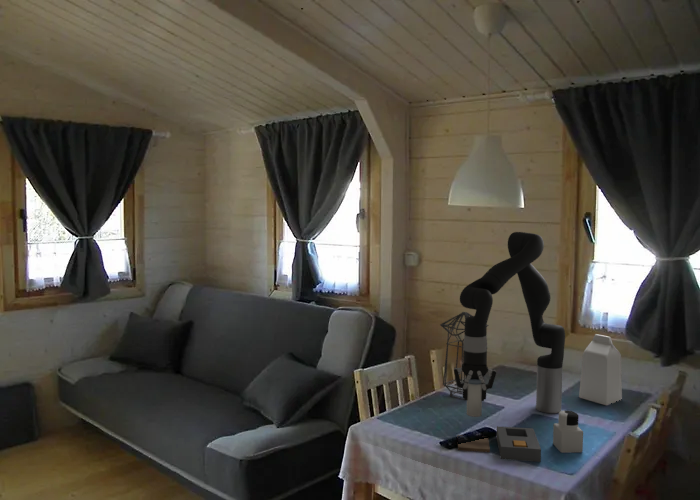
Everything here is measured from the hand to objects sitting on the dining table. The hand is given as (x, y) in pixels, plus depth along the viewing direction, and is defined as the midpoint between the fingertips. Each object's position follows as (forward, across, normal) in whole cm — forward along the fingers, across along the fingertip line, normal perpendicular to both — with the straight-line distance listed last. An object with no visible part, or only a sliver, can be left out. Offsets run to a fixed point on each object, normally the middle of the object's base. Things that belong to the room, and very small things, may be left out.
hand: (474, 399), depth 195 cm
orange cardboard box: (+15, -14, +6) cm, 21 cm away
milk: (+15, -53, -56) cm, 79 cm away
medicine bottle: (+15, -30, -2) cm, 34 cm away
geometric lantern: (+15, +2, -51) cm, 53 cm away
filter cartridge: (+5, 0, 0) cm, 5 cm away
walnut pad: (+15, 0, 0) cm, 15 cm away
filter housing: (+15, -14, +1) cm, 21 cm away
